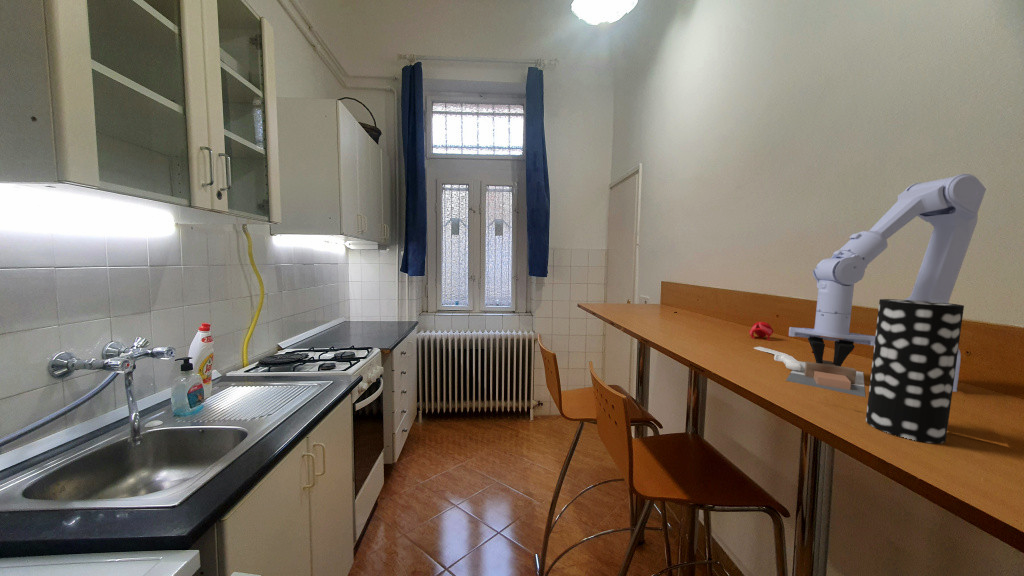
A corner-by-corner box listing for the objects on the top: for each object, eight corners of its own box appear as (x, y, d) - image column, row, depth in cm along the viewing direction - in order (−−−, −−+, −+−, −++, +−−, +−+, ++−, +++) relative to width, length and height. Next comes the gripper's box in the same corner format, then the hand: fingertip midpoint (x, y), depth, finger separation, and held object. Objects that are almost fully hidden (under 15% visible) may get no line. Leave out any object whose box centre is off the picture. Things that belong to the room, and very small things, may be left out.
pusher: (848, 376, 78) (849, 363, 78) (854, 384, 73) (856, 370, 73) (802, 369, 83) (803, 357, 83) (805, 376, 78) (806, 363, 78)
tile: (844, 382, 74) (845, 375, 74) (850, 389, 70) (850, 382, 70) (813, 377, 77) (814, 370, 77) (817, 384, 73) (818, 376, 73)
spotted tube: (938, 429, 55) (955, 303, 53) (952, 450, 49) (972, 307, 47) (863, 413, 60) (876, 298, 59) (867, 429, 54) (882, 301, 52)
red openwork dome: (775, 333, 114) (778, 321, 117) (755, 324, 116) (758, 314, 120) (764, 348, 119) (767, 337, 122) (745, 340, 122) (748, 329, 125)
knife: (746, 341, 110) (777, 343, 107) (746, 346, 110) (777, 349, 107) (762, 360, 84) (803, 364, 80) (762, 367, 84) (803, 371, 80)
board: (862, 374, 82) (863, 372, 82) (865, 399, 67) (865, 396, 67) (797, 362, 91) (797, 360, 91) (785, 382, 75) (786, 380, 75)
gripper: (873, 313, 77) (866, 374, 78) (789, 307, 85) (784, 362, 86) (884, 317, 71) (876, 383, 72) (792, 310, 79) (787, 369, 80)
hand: (826, 372), depth 79 cm, fingers closed on pusher, 2 cm apart
